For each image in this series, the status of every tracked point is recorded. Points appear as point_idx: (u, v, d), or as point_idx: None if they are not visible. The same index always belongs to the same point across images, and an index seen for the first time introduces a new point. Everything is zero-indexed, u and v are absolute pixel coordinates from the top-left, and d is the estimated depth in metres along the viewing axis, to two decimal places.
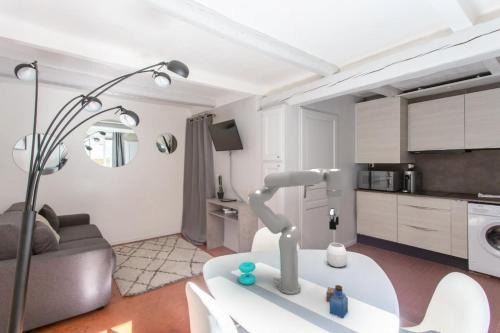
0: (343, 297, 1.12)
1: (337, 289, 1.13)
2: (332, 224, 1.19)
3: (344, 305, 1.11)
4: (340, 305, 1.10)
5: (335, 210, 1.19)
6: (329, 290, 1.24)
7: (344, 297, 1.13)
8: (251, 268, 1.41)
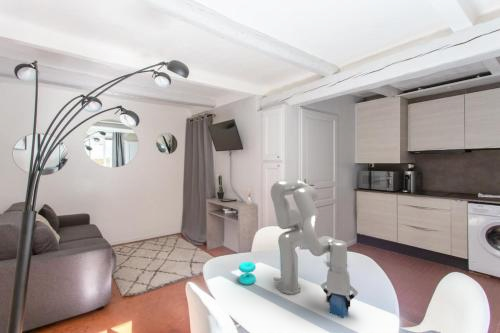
0: (343, 297, 1.12)
1: None
2: None
3: (344, 305, 1.11)
4: (340, 305, 1.10)
5: None
6: None
7: (344, 297, 1.13)
8: (251, 268, 1.41)
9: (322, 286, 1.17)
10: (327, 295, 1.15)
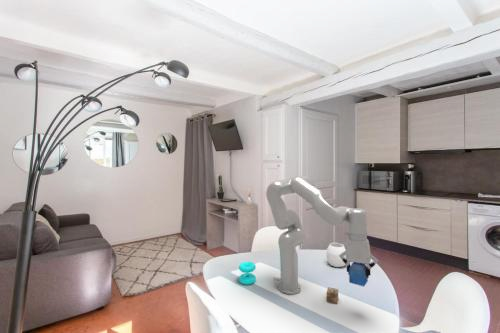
0: (363, 266, 1.10)
1: None
2: None
3: (364, 273, 1.09)
4: (360, 273, 1.08)
5: None
6: (329, 290, 1.24)
7: (364, 266, 1.11)
8: (251, 268, 1.41)
9: (341, 256, 1.15)
10: (346, 264, 1.13)
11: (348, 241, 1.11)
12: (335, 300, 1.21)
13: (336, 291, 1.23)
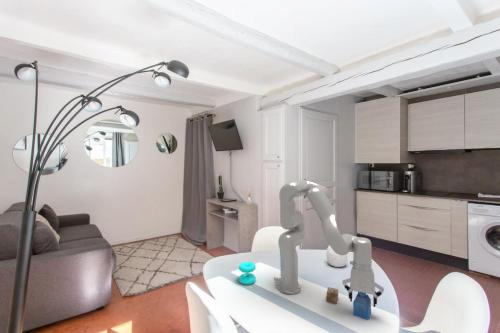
0: (367, 298, 1.11)
1: None
2: (376, 299, 1.10)
3: (368, 307, 1.10)
4: (365, 306, 1.09)
5: None
6: (329, 290, 1.24)
7: (368, 298, 1.11)
8: (251, 268, 1.41)
9: (344, 282, 1.15)
10: (348, 291, 1.14)
11: (353, 270, 1.12)
12: (335, 300, 1.21)
13: (336, 291, 1.23)
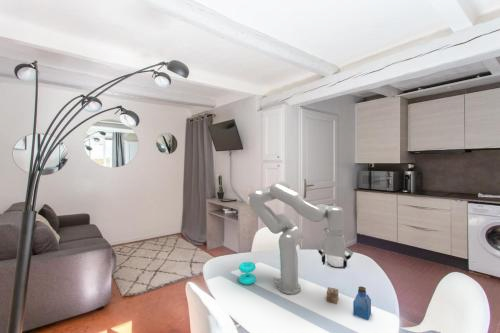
0: (367, 298, 1.11)
1: (361, 290, 1.11)
2: (346, 262, 1.20)
3: (368, 307, 1.10)
4: (365, 306, 1.09)
5: None
6: (329, 290, 1.24)
7: (368, 298, 1.11)
8: (251, 268, 1.41)
9: (318, 247, 1.25)
10: (321, 255, 1.24)
11: (326, 236, 1.22)
12: (335, 300, 1.21)
13: (336, 291, 1.23)
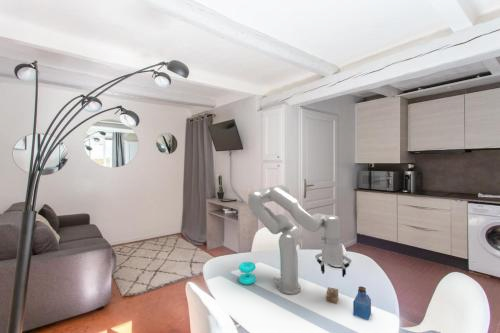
0: (367, 298, 1.11)
1: (361, 290, 1.11)
2: (345, 270, 1.21)
3: (368, 307, 1.10)
4: (365, 306, 1.09)
5: None
6: (329, 290, 1.24)
7: (368, 298, 1.11)
8: (251, 268, 1.41)
9: (316, 256, 1.26)
10: None
11: (323, 245, 1.23)
12: (335, 300, 1.21)
13: (336, 291, 1.23)
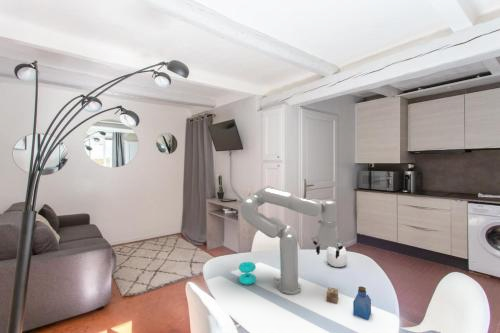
0: (367, 298, 1.11)
1: (361, 290, 1.11)
2: None
3: (368, 307, 1.10)
4: (365, 306, 1.09)
5: None
6: (329, 290, 1.24)
7: (368, 298, 1.11)
8: (251, 268, 1.41)
9: (313, 238, 1.34)
10: (316, 246, 1.33)
11: (320, 227, 1.31)
12: (335, 300, 1.21)
13: (336, 291, 1.23)
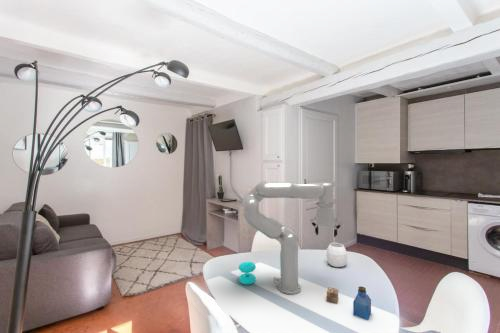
0: (367, 298, 1.11)
1: (361, 290, 1.11)
2: (336, 231, 1.35)
3: (368, 307, 1.10)
4: (365, 306, 1.09)
5: None
6: (329, 290, 1.24)
7: (368, 298, 1.11)
8: (251, 268, 1.41)
9: (311, 220, 1.41)
10: (315, 227, 1.40)
11: (318, 209, 1.37)
12: (335, 300, 1.21)
13: (336, 291, 1.23)
